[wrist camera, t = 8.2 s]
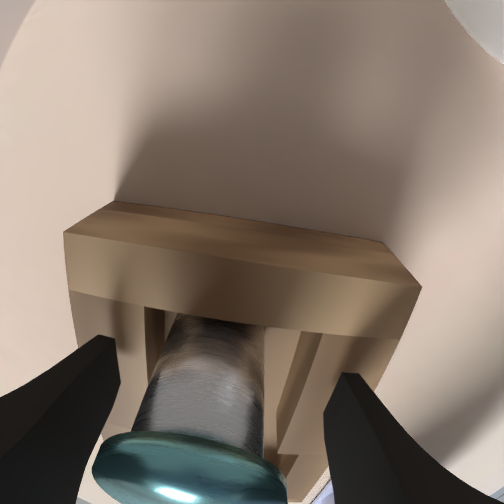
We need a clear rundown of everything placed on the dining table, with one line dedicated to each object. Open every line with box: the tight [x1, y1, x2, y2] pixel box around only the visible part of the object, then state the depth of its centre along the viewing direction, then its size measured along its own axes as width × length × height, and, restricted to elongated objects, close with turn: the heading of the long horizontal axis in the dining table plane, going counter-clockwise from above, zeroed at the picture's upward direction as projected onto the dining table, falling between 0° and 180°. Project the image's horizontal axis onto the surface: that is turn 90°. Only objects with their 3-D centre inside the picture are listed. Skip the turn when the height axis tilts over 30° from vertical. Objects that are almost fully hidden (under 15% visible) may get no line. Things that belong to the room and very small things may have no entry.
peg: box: [92, 313, 288, 504], centre depth 9 cm, size 5×5×8 cm
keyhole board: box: [63, 201, 422, 502], centre depth 13 cm, size 11×15×4 cm
